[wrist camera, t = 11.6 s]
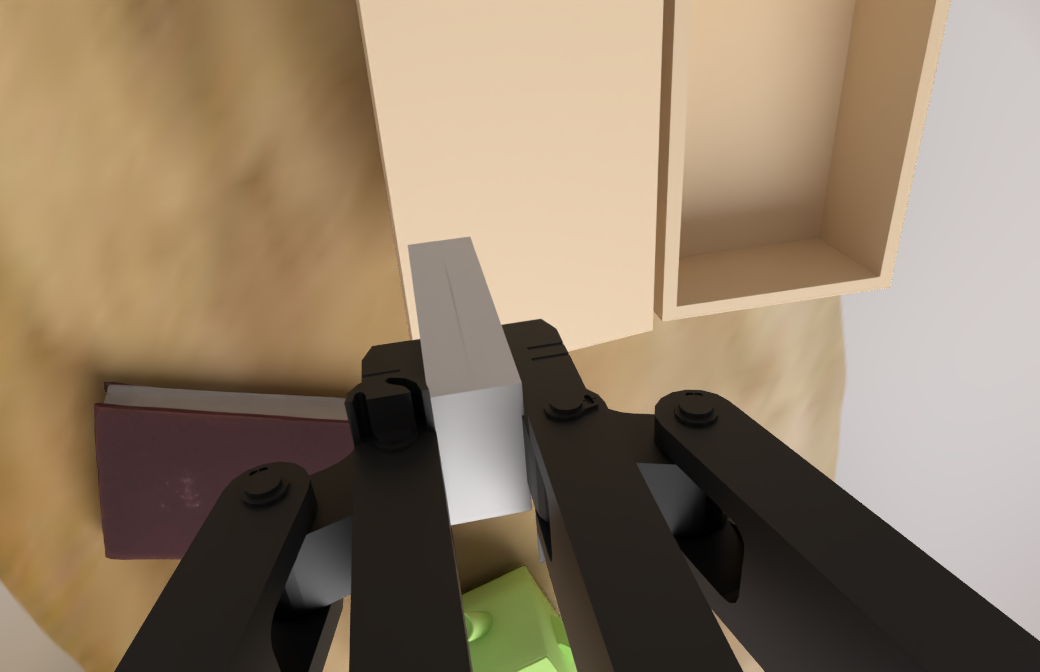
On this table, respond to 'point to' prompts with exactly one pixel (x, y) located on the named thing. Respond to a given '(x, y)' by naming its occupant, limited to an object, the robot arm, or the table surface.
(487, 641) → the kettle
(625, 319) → the lid
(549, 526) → the robot arm
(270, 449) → the book
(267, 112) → the table surface
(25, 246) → the table surface
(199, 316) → the table surface
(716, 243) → the open box
